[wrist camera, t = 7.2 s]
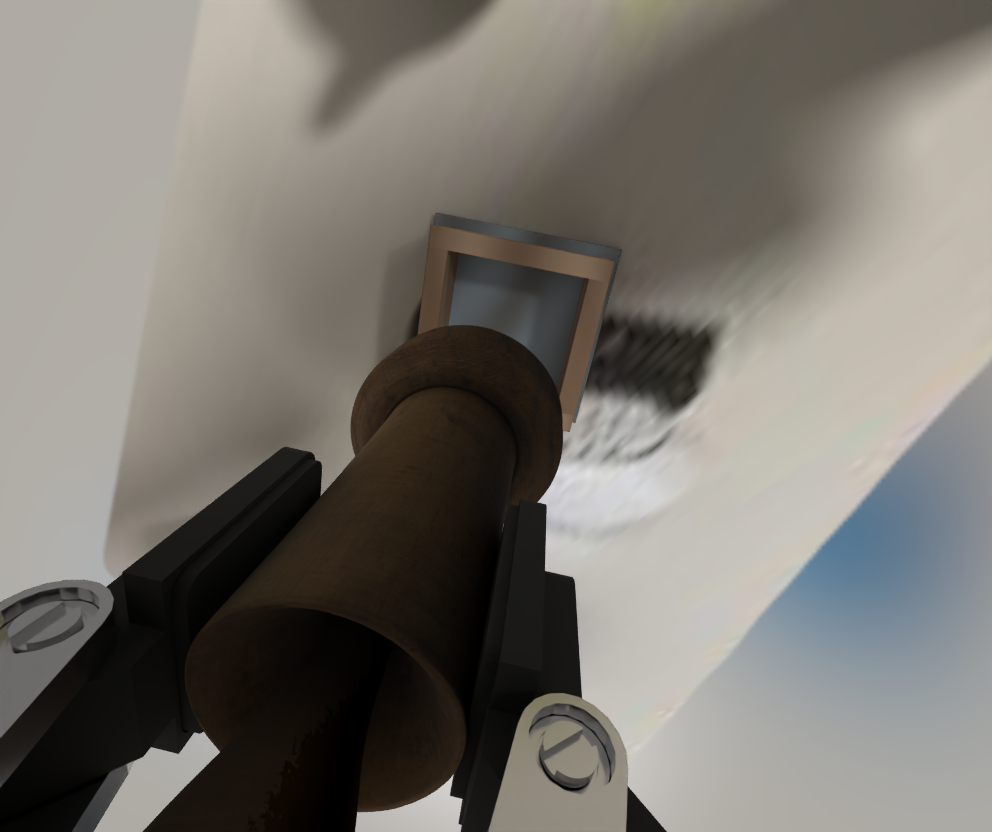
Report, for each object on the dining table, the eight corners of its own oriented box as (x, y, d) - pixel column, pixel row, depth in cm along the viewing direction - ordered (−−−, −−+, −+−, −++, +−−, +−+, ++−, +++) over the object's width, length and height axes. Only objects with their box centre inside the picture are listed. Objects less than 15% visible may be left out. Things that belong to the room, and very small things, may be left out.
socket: (620, 249, 33) (630, 251, 28) (574, 420, 37) (577, 443, 33) (437, 213, 33) (420, 210, 29) (416, 386, 38) (398, 404, 34)
